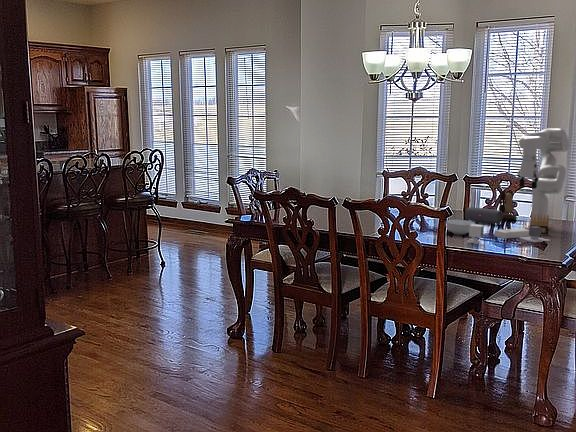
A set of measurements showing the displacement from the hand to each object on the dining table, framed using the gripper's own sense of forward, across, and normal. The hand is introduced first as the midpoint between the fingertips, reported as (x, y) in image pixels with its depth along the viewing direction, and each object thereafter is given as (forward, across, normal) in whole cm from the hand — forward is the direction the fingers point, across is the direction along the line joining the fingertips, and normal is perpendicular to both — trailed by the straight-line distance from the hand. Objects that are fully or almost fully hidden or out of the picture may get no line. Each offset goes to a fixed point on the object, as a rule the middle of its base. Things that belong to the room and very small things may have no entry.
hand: (527, 187), depth 353 cm
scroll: (+30, +45, -25) cm, 60 cm away
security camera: (+26, -13, +48) cm, 56 cm away
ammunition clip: (+28, -4, -6) cm, 29 cm away
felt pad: (+27, -18, +10) cm, 34 cm away
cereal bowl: (+27, +14, +37) cm, 48 cm away
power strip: (+27, -5, +12) cm, 30 cm away
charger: (+27, -18, +10) cm, 33 cm away
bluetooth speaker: (+29, +39, -1) cm, 49 cm away
